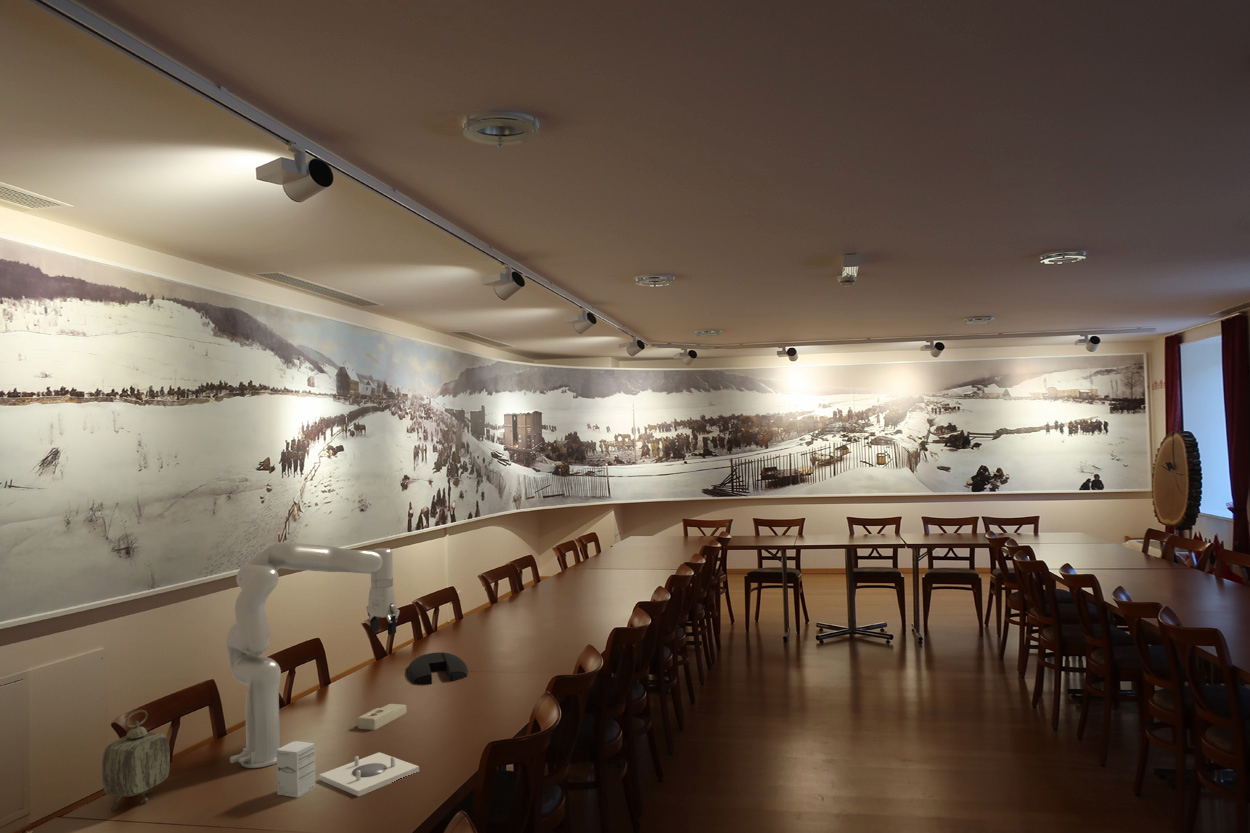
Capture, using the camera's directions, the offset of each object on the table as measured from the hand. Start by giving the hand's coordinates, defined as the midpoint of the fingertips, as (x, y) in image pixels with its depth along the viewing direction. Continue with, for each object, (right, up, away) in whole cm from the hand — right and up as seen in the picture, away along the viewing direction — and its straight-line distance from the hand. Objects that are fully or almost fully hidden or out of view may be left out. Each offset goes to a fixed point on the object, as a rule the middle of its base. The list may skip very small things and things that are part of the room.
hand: (383, 632), depth 281 cm
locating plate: (+11, -28, -49) cm, 58 cm away
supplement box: (-6, -29, -58) cm, 66 cm away
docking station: (+4, -34, +61) cm, 70 cm away
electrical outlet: (0, -31, -1) cm, 31 cm away
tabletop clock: (-49, -31, -61) cm, 84 cm away
